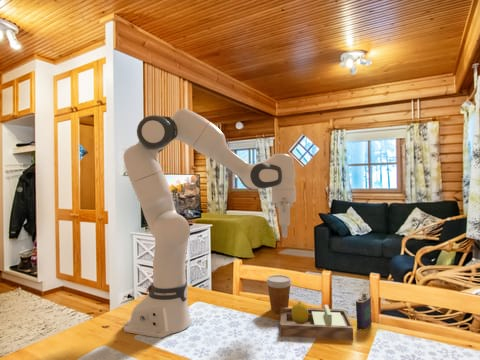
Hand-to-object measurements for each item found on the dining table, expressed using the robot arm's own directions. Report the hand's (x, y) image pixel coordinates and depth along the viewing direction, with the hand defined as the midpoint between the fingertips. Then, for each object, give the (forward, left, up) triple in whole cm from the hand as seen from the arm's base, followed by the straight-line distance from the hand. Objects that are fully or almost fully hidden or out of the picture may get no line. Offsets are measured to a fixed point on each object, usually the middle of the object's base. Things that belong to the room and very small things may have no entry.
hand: (284, 234), depth 112 cm
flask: (+26, -6, -29) cm, 40 cm away
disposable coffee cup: (-3, +3, -29) cm, 30 cm away
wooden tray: (+9, -9, -29) cm, 32 cm away
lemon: (+4, -9, -29) cm, 31 cm away
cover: (+14, -10, -27) cm, 31 cm away
